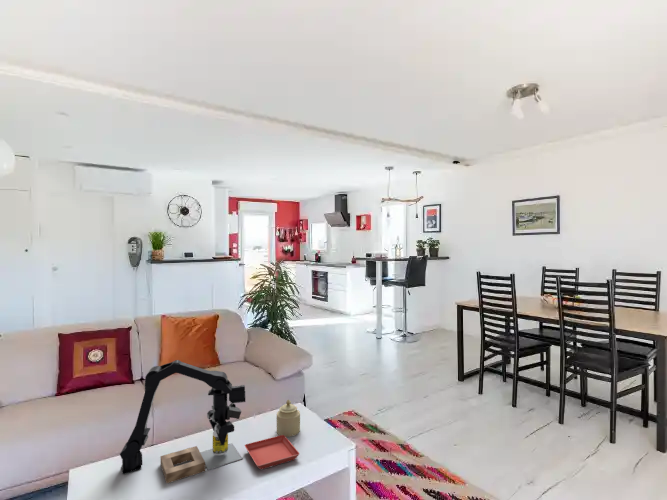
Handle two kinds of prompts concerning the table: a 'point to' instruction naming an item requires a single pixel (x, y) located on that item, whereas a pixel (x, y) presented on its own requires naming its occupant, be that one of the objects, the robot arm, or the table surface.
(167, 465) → the holder block
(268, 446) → the plant saucer
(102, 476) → the table surface
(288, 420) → the sugar bowl
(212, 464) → the slate mat
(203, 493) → the table surface
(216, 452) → the pill bottle
